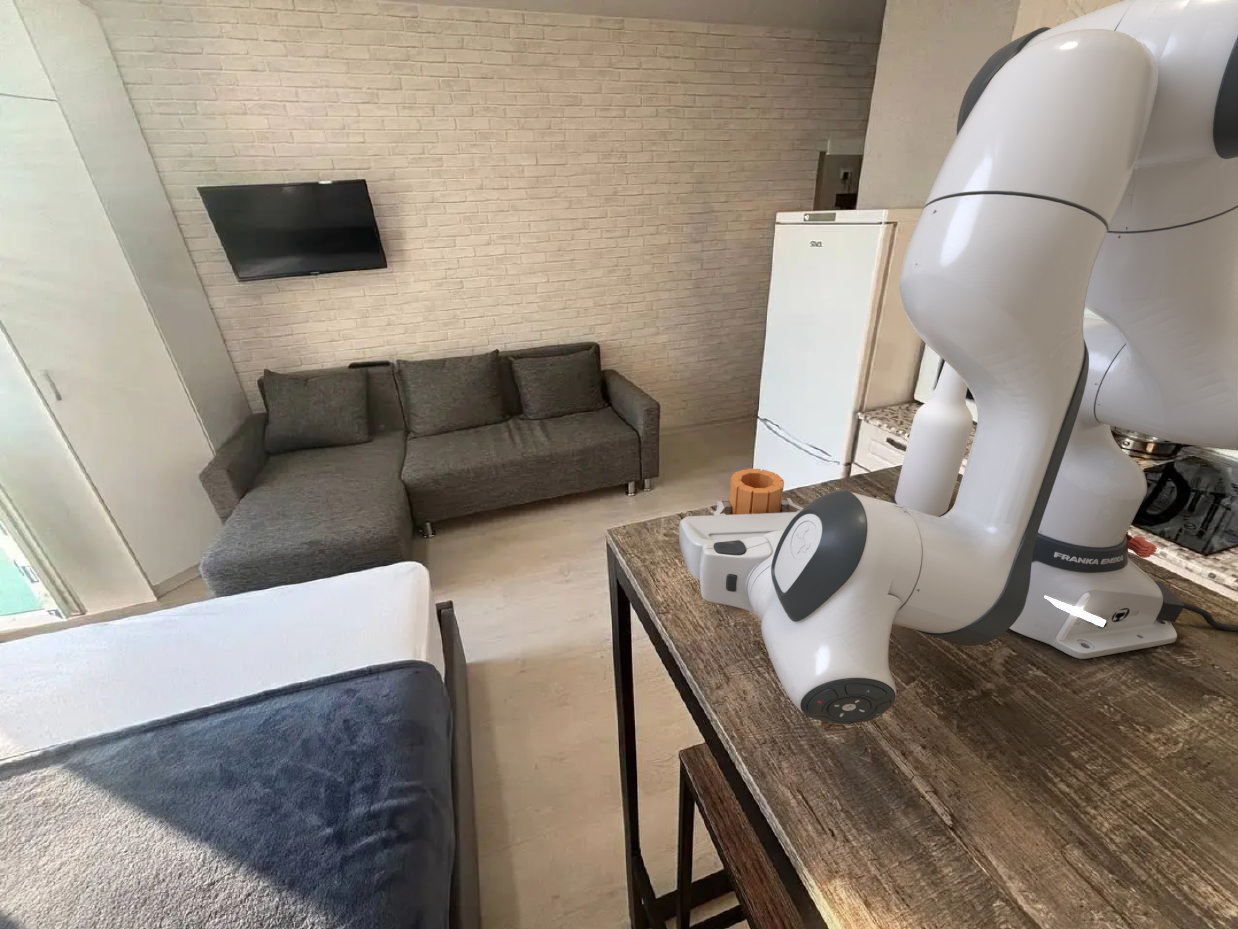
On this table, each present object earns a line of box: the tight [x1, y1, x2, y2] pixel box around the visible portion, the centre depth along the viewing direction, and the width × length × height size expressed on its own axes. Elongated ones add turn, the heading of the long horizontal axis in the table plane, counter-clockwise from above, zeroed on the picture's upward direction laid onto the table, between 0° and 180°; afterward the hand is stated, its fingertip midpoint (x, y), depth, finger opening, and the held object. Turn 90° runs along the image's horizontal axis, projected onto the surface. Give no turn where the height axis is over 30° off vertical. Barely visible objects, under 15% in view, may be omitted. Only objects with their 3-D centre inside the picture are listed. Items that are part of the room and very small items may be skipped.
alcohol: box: [894, 360, 974, 517], centre depth 89 cm, size 9×9×30 cm
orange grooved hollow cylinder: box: [728, 468, 785, 515], centre depth 64 cm, size 6×6×9 cm
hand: (752, 504), depth 65 cm, fingers closed on orange grooved hollow cylinder, 6 cm apart
